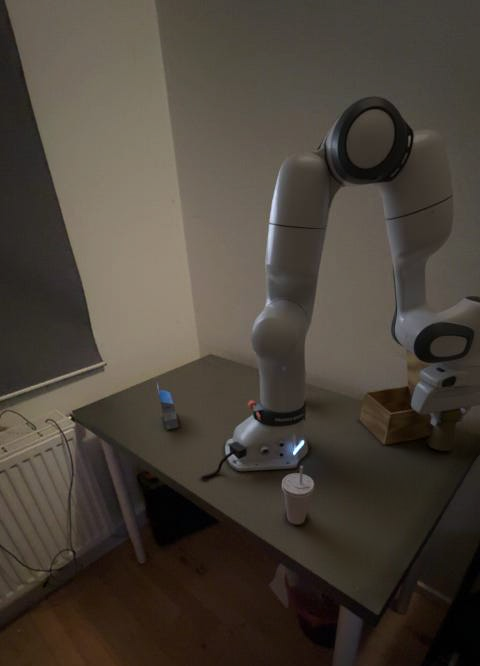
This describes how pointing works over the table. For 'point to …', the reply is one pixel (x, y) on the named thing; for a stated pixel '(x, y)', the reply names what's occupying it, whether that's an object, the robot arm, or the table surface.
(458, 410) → the olive tapered rounded piece
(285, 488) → the smoothie
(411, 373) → the bin lid
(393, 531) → the table surface
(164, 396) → the cordless phone
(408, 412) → the bin
